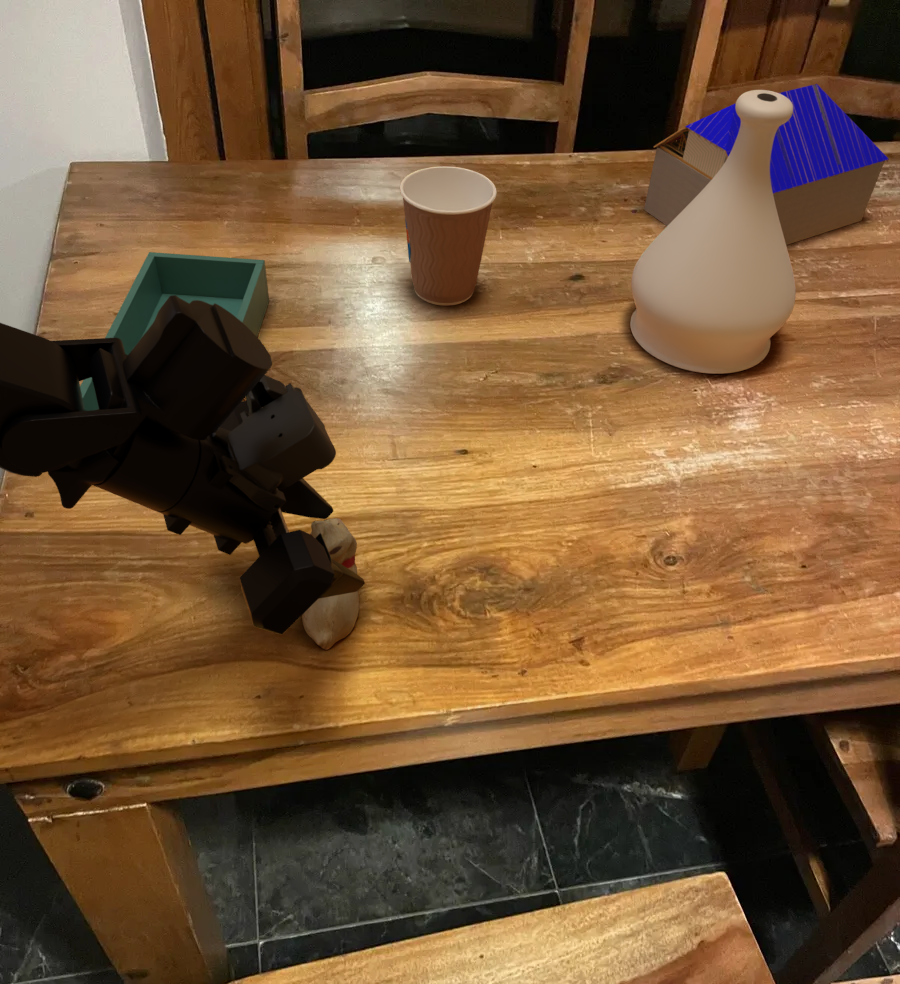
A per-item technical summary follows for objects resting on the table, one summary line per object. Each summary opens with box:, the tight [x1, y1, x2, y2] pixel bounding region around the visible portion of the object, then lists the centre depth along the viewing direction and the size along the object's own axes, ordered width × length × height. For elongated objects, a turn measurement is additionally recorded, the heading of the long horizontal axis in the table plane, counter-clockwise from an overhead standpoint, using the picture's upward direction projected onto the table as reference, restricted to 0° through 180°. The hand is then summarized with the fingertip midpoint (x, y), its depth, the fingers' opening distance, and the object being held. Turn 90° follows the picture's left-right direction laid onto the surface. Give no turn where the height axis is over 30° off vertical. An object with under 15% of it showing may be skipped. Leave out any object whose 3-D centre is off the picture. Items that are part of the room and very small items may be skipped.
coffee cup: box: [399, 165, 497, 307], centre depth 104 cm, size 10×10×12 cm
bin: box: [80, 251, 270, 411], centre depth 94 cm, size 30×13×5 cm, turn 177°
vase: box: [629, 89, 797, 375], centre depth 95 cm, size 17×17×25 cm
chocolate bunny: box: [301, 517, 360, 651], centre depth 72 cm, size 6×8×10 cm
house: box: [643, 83, 890, 246], centre depth 117 cm, size 25×16×16 cm, turn 121°
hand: (344, 548), depth 72 cm, fingers open, 8 cm apart
